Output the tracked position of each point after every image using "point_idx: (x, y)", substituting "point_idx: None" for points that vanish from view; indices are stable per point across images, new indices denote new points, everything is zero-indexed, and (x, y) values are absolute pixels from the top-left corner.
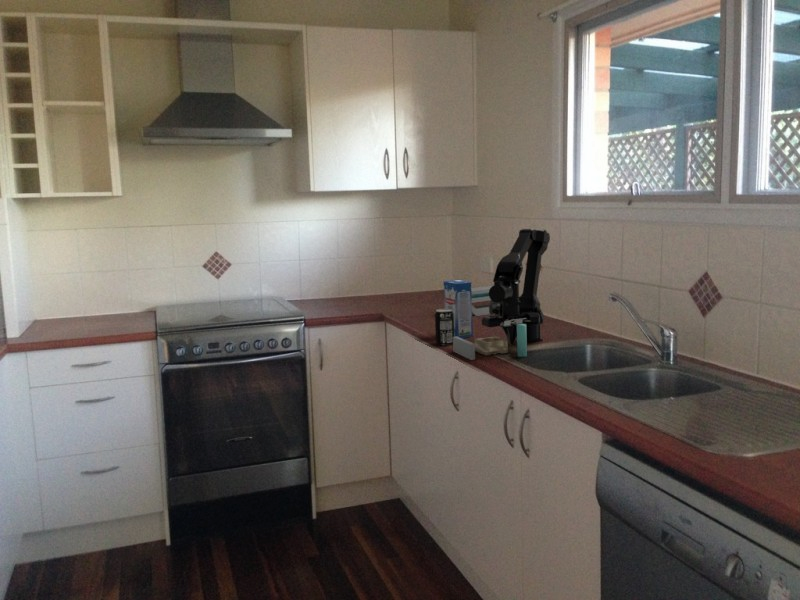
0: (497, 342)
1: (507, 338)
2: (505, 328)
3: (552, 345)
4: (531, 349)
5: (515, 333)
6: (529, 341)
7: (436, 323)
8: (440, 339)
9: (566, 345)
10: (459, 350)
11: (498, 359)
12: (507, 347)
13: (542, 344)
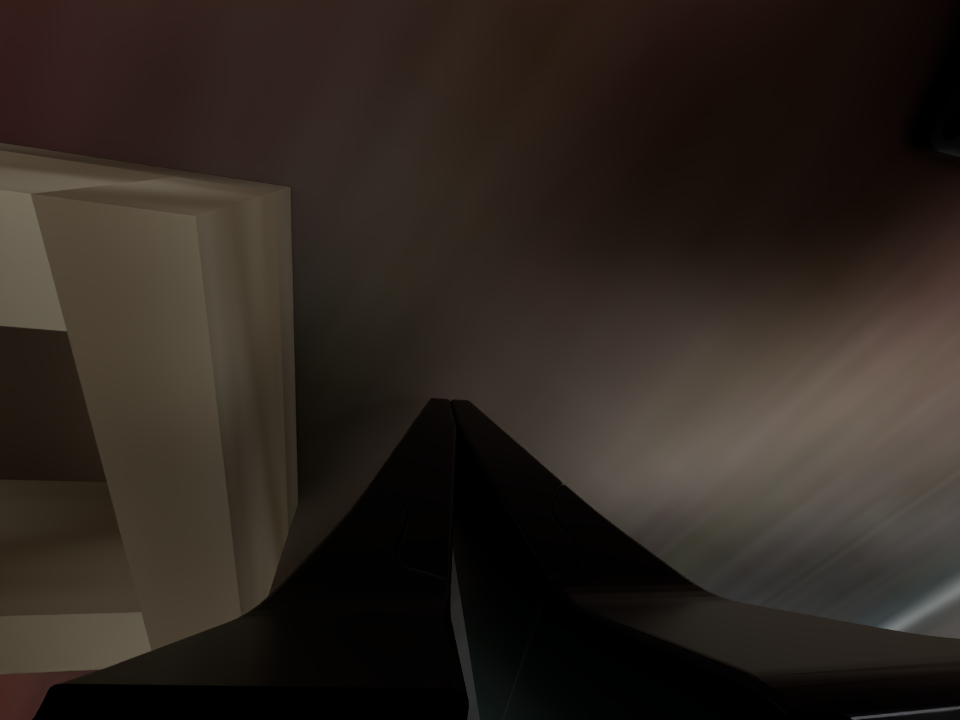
0: (27, 658)
1: (397, 450)
2: (308, 701)
3: (878, 451)
4: (612, 487)
5: (482, 683)
6: (947, 156)
7: None
8: None
9: (926, 507)
10: None
11: None
12: (277, 557)
13: (881, 362)
